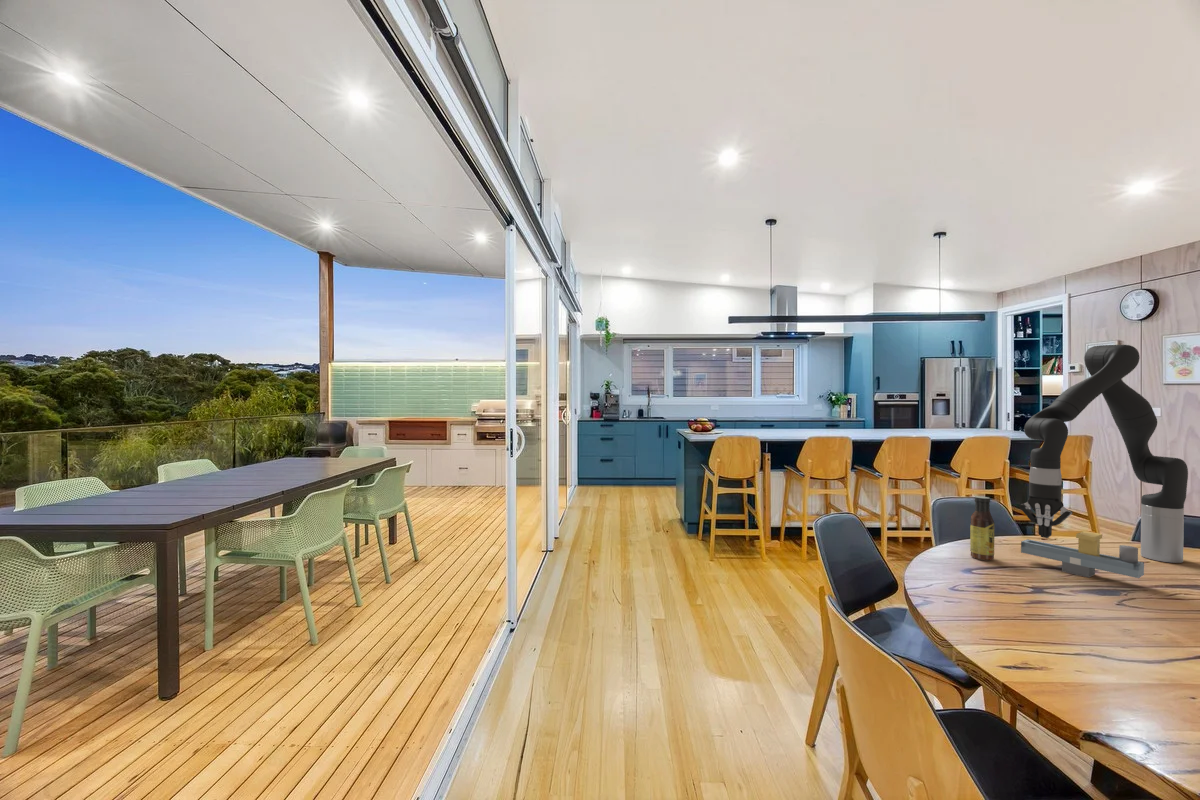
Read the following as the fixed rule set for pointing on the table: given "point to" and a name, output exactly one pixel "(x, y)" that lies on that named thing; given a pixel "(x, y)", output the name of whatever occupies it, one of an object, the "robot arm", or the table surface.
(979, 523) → the sauce bottle
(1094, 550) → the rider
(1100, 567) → the beam
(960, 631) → the table surface
